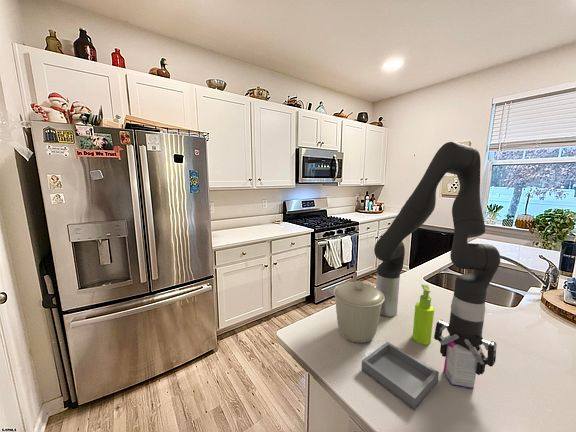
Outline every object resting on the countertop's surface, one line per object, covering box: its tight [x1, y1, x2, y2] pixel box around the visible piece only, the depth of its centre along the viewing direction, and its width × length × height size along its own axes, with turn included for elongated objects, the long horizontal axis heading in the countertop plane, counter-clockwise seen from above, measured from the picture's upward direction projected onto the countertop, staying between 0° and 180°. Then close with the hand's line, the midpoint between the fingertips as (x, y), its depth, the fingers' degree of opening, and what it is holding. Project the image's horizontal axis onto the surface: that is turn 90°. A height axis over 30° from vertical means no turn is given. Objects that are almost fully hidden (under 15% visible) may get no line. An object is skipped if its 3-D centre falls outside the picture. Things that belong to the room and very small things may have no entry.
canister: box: [332, 280, 385, 344], centre depth 89 cm, size 18×18×21 cm
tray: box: [361, 341, 440, 411], centre depth 71 cm, size 16×14×4 cm
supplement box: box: [443, 341, 478, 390], centre depth 70 cm, size 6×6×12 cm
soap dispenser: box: [411, 284, 435, 346], centre depth 87 cm, size 6×7×20 cm
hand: (460, 363), depth 70 cm, fingers open, 8 cm apart
